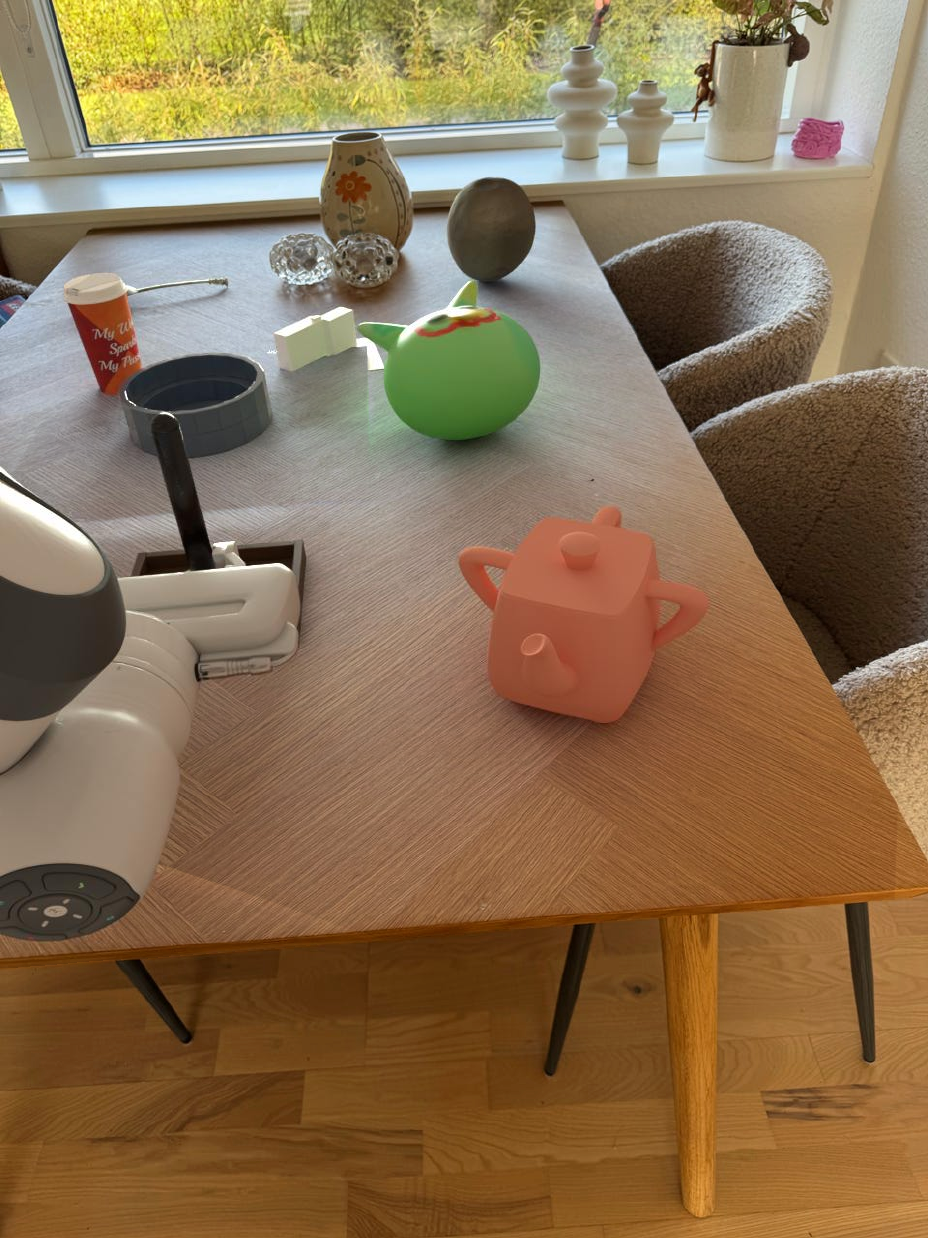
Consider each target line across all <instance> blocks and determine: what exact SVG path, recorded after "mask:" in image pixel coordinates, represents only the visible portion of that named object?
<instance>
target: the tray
mask: <svg viewBox="0 0 928 1238" xmlns="http://www.w3.org/2000/svg"><path fill="white" fill-rule="evenodd" d="M236 545H237V549H238V553H239V558H240V559H241V560H242V561H243V562H244V563H245V564H246V566H257V565H267V564H283V565H284V566H286V567H287V568H289V569H290V570H291V571H293V573H294V575H295V578H296V583H297V587H298V592H299V598H300V615H299V620H298V624H297V628H296V629H297V630H298V633H299V641H298V649H299V648H300V638H301V626H302V625H301V624H302V614H303V603H304V601H303V600H304V591H305V589H304V588H305V579H306V578H305V577H306V565H307V553H306V548H305V542H304V539H294V540H293V539H292V540H281V541H268V542H255V543H245V544H243V543H242V544H236ZM211 548H212V552H213V549H214V546H211ZM187 570H189V565H188V561H187V558H186V554H185V551H184V548H183V549H172V550H159V551H148V552H145V551H144V552H138V553H137V555H136V559H135V561H134V564H133V568H132V571H131V574H130V577H136V576H147V575H158V574H169V573H180V572H186V571H187Z"/></svg>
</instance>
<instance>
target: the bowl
mask: <svg viewBox="0 0 928 1238" xmlns="http://www.w3.org/2000/svg"><path fill="white" fill-rule="evenodd" d="M118 394H119V395H118V397H119V401H120V405H121V407H122V410H123V415H124V418H125V421H126V424H127V428H128V431H129V435H130V437H131V441H132V444H134V446H136V447H137V448H139V449H140V451H142V452H144V453H148V454H151V455H154V456H157V457H158V455H157V452H156V448H155V445H154V441H153V438H152V434H151V431H150V422H151V420H152V418H153V417H154V416H155V415H157V414H159V413H169V414H171V415H173V416H174V417H175V418H176V419H177V421H178V422H179V425H180V429H181V433H182V437H183V441H184V445H185V448H186V452H187V456H188V458H201V457H207V456H211V455H215V454H220V453H225V452H228V451H230V450H234V449H235V448H238V447H241V446H243V445H246V444H248V443H250V442H251V441H252V440H254V439H256V438H257V437H259V436H260V435H262V433H264V431H265V430H266V429H267V428H268V427H269V426H270V425H271V423H272V422H271V421H272V416H273V411H272V405H271V401H270V396H269V390H268V385H267V379H266V374H265V371H264V369H263V368H262V365H261V364H260V363H259V362H257V361H255V360H253V359H251V358H250V357H248V356H244V355H239V354H235V353H229V352H227V353H226V352H201V353H199V352H198V353H191V354H190V353H189V354H185V355H179V356H174V357H170V358H166V359H163V360H160V361H156V362H154V363H150V364H148V365H146V366H145V367H142V369H141V370H139V371H137V372H135V373H133V374H132V375H131V376H130V377H128V378H127V379H126V380H125V381H124V382H123V383H122V385H121V387H120V389H119V391H118Z"/></svg>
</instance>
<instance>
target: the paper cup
mask: <svg viewBox="0 0 928 1238" xmlns="http://www.w3.org/2000/svg"><path fill="white" fill-rule="evenodd" d="M127 286H128V285H126V283H124V281H123V279H122V278H121V277H120V276H119V275H118V274H115V273H110V272H109V273H108V272H97V273H89V274H85V275H80V276H76V277H74V278H72V279H69V280H68V281H67V282H66V283H64V286H63V294H62V300H63V301H64V302H66V304H67V305H68V308H69V311H70V313H71V316H72V319H73V321H74V324H75V326H76V327H75V328H76V329H77V332H78V335H79V337H80V340H81V343H82V346H83V349H84V351H85V353H86V356H87V359H88V361H89V364H90V366H91V369H92V372H93V374H94V377H95V380H96V382H97V385H98V387H99V389H100V392H101V393H103V394H105V395H107V396H109V395H110V396H119V394H118V391H119V389H120V387H121V385H122V383H123V382H124V381H125V380H126V379H127V378H128V377H130V376H131V375H132V374H133V373H135V372H137V371H139V370H141V369H143V365H142V360H141V355H140V351H139V346H138V341H137V336H136V332H135V328H134V327H135V326H134V322H133V317H132V314H131V308H130V304H129V299H128V296H127V294H126V292H127V290H128V287H127Z"/></svg>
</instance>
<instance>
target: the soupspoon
mask: <svg viewBox="0 0 928 1238" xmlns="http://www.w3.org/2000/svg"><path fill="white" fill-rule="evenodd" d="M200 284H209V285H212V284H213V285H216V286H218V285H220V286H222V287H223V286H224V285H226V286H227V287H226V286H225V287H226V288H228V287H229V277H228V276H225V279H224V277H221V278H213V279H212V278H208V279H200V280H188V281H180V282H172V283H171V282H170V283H164V284H163V283H162V284H156V285H151V286H146V287H142V288H135V287H134V286H130V285H126V286H127V287H128V290H127V292H126V294H127V297H129V296H132V295H135V294H141V293H144V292H149V291H152V290H160V289H166V288H173V287H180V286H181V287H182V286H190V285H200Z"/></svg>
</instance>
